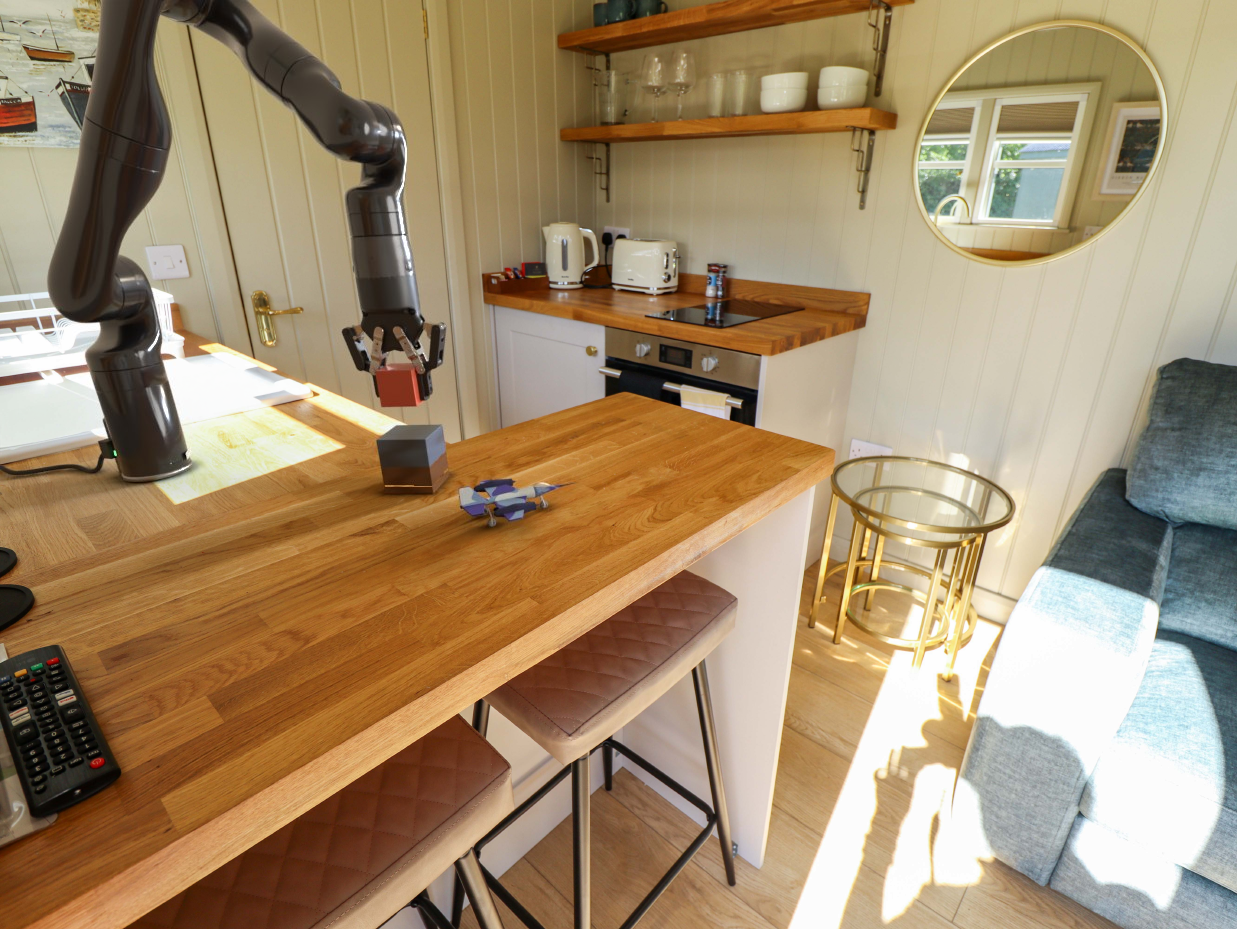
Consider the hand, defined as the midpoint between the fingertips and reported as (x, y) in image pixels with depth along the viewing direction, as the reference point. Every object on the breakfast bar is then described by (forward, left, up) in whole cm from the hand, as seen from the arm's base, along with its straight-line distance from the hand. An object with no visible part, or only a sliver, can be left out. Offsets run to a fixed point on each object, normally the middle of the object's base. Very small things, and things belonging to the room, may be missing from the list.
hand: (405, 399), depth 91 cm
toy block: (0, 0, 0) cm, 0 cm away
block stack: (0, 0, -13) cm, 13 cm away
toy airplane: (+19, -6, -13) cm, 24 cm away
